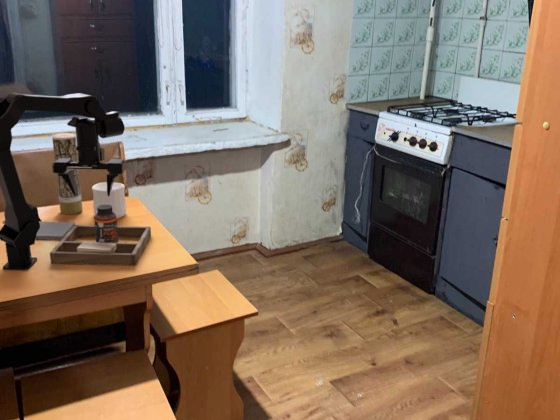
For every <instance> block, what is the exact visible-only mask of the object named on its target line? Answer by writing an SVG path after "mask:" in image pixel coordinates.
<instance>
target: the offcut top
mask: <svg viewBox="0 0 560 420" xmlns="http://www.w3.org/2000/svg"><path fill="white" fill-rule="evenodd" d="M81 242H82V243H81V244H80V245H79V246H78V247H77V252H94V253H113V252H114V251H115V250H116V244H114V243H98V242H96V241H81Z"/></svg>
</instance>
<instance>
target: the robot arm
mask: <svg viewBox="0 0 560 420" xmlns="http://www.w3.org/2000/svg"><path fill="white" fill-rule="evenodd" d="M99 101H100V100H98V98H97V97H96V96H94V95H90V94H85V93H81V92H77V93H69V94H68V93H67V94H65V95H60V96H59V95H58V96H57V95H43V94H41V95H40V94H26V93H24V94H23V93H18V92H10V93H9V94H8V95H6V96H5V97H4V98H3V99H1V100H0V189H1V192H2V193H1V194H2V195H3V198H4V202H5V209H4V215H3V216H4V221H5V223H4V224H3V226H2V227H1V228H0V241H1V242H4V244H5V251H6V258H7V262H6V263H5V264H4V265H3V266H2V269H3V270H29V269H30V268H31V267H32V266H33V264H35V263H36V261H37V260H38V257H32V250H31V246H33V245H35V242H36V240H37V239H36V235H37V232H38V230H39V229H40V223H39V222H43V221H42V219H41V218H40V216H39V209H38V206H36V205H33V204H31V203H28V202H27V200H26V198H25V194H24V191H23V188H22V184H21V181H20V178H19V174H18V170H17V167H16V165H15V161H14V158H13V155H12V154H13V153H12V152H11V147H12V142H13V134H12V129H13V128H14V127H15V126H16V125H17V124H18V123H19V121H20V120H21V117H22V115H23V114H24V113H25V112H26V111H33V112H59V113H64V112H65V113H68V114H69V113H70V114H73V115H77V116H82V118H79V117H77V116H72V118H71V119H70V120H69V121H68V122H67V126H68V127H73V128H75V136H76V145H77V147H76V151H77V156H78V162H73V160H72V158H59V159H58V160H57V161H55V160H54V162H53V163H52V166H51V167H52V168H51V169H52V173H53V174H56V173H58V176H62V178H63V179H64V180H65V181H66V183H67V184H68V186H69V187H70V189H71V191H72V193H73V194H74V196H76V195H77V189H76V183H75V177H74V169H79V170H106V171H107V172H108V173H107V174H106V182H107V194H108V196H110V193H111V190H112V186H113V182H115V179H116V178H117V177H119V176H120V175H122V174H123V173H124V172H125V171H126V169H127V162H126V161H125V159H123V158H111V159H110V160H109V161H108V162H103V161H105V151H106V149H105V148H103V147H101V144H100V140H99V139H100V138H102V139H106V138H107V139H108V138H112V137H119V136H122V135H123V134H124V132H125V124H124V121H123V119H122V118H121V116H120V113H119V111H115V110H112V111H110V112H105V110H104V109H103V108H102V107H101V105H100V102H99ZM83 117H84V118H83ZM90 118H92V120H91V119H90Z"/></svg>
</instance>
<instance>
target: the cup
mask: <svg viewBox="0 0 560 420" xmlns="http://www.w3.org/2000/svg"><path fill="white" fill-rule="evenodd" d="M125 187H126V186H125V184H124V183H121V182H115V181H114V182H113V186H112V190H111V193H110V196H108V194H107V181H103V182H97V183H95V184H94V185H92V187H91V190H92V195H93V196H92V199H93V204H92V206H93V208H92V209H93V214H94V215H95V214H96V213H97V212H98V211H97V207H98V206H99V205H104V204H107V205H111V206H112V212H114V213H115V214H116V219H121V218H122V216H123V217H124V216H125V215H126V213H127V202H126V195H125Z"/></svg>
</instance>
